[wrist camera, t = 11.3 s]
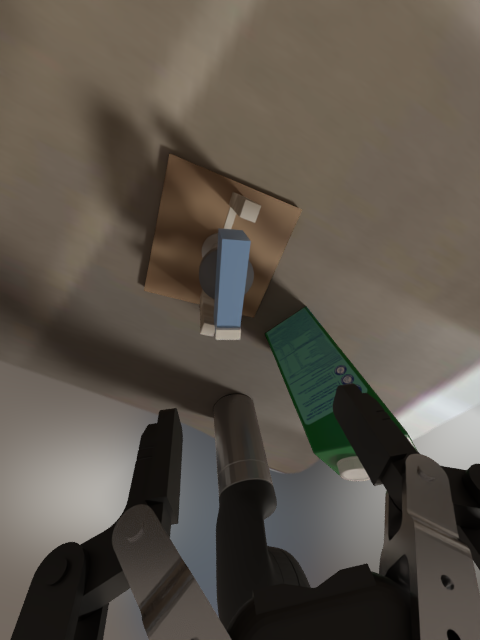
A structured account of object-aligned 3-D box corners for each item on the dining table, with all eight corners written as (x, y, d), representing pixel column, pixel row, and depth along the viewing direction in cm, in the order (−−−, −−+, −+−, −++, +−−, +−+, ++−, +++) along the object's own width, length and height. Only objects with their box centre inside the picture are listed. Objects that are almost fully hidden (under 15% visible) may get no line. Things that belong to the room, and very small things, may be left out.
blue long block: (256, 228, 25) (272, 243, 20) (245, 310, 31) (256, 340, 25) (199, 223, 24) (200, 238, 19) (198, 309, 29) (198, 340, 24)
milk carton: (264, 333, 45) (322, 476, 24) (306, 305, 43) (409, 435, 22) (287, 360, 49) (353, 501, 28) (326, 336, 47) (427, 468, 26)
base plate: (252, 314, 42) (268, 355, 33) (145, 287, 37) (127, 327, 27) (299, 208, 34) (337, 223, 25) (170, 153, 29) (156, 145, 19)
